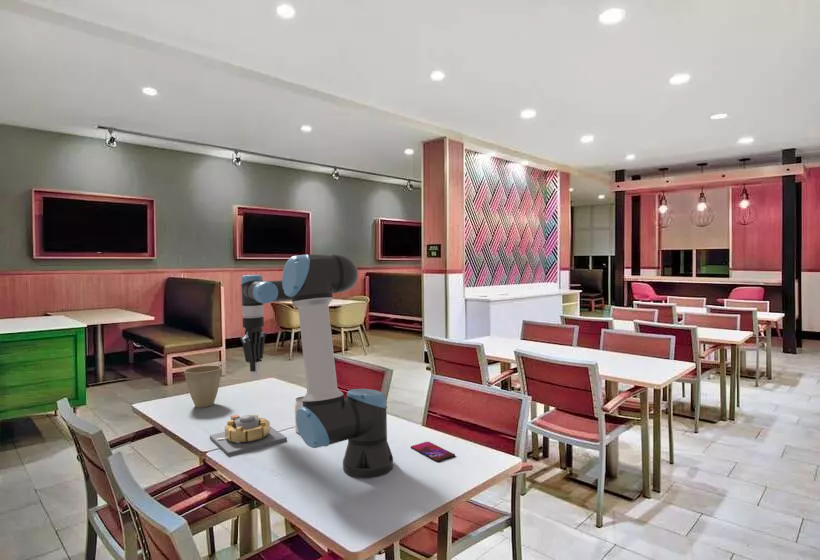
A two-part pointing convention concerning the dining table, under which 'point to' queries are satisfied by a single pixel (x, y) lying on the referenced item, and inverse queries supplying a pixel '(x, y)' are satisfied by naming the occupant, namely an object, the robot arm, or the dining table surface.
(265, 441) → the base
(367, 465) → the robot arm
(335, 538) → the dining table surface
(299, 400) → the can
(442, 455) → the smartphone
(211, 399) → the plant pot
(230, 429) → the ring nut
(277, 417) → the dining table surface
